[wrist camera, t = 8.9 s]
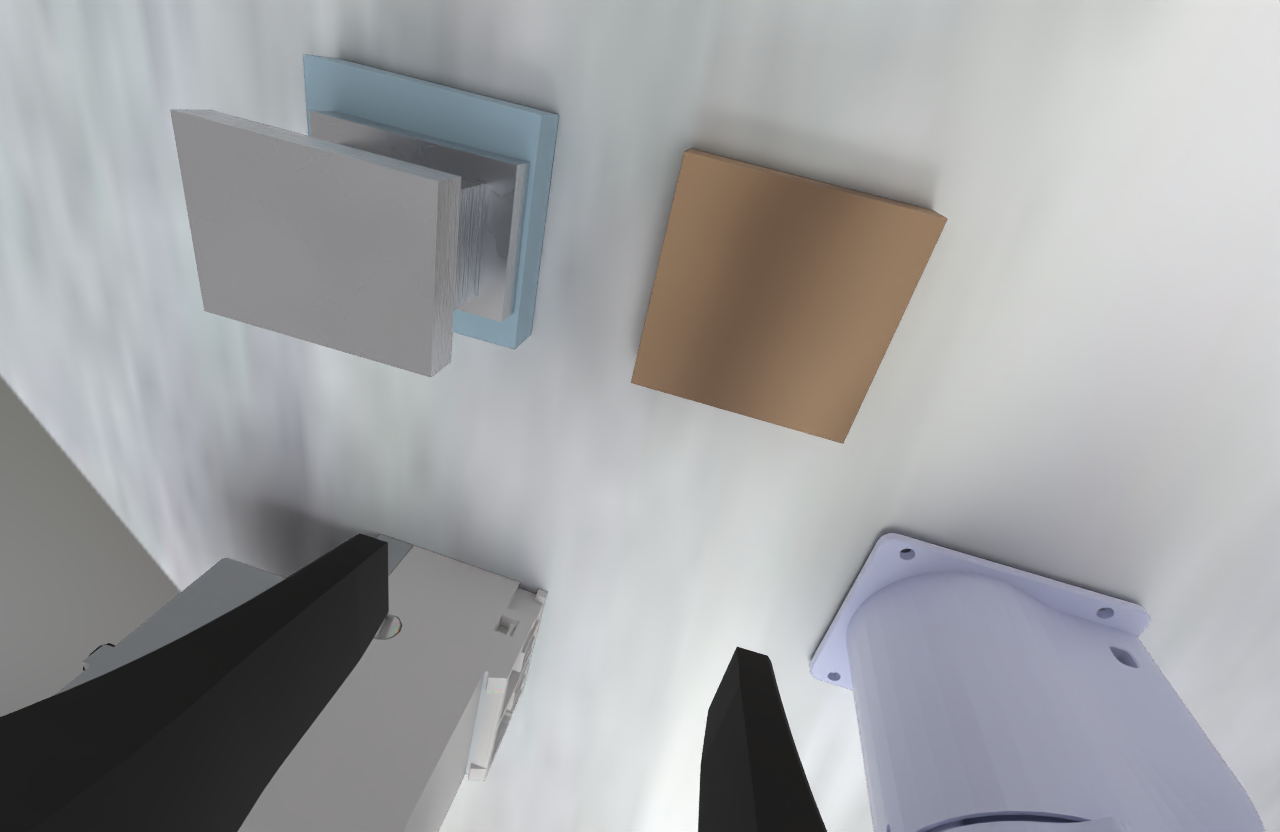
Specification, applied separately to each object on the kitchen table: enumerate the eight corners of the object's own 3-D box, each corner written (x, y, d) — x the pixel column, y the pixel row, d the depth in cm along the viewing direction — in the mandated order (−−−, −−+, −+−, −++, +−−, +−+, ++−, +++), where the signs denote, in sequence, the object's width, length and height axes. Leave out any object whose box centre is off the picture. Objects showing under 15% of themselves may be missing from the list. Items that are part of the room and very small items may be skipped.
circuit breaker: (258, 491, 27) (-228, 849, 14) (547, 591, 26) (325, 1070, 13) (268, 600, 30) (-106, 964, 17) (522, 691, 30) (330, 1141, 17)
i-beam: (333, 110, 17) (170, 109, 12) (530, 162, 16) (438, 181, 12) (340, 263, 19) (204, 311, 14) (514, 312, 18) (430, 377, 14)
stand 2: (933, 210, 16) (947, 218, 15) (838, 421, 20) (843, 443, 18) (691, 148, 17) (684, 151, 15) (639, 365, 20) (631, 382, 19)
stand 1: (559, 115, 17) (541, 115, 16) (530, 334, 20) (514, 349, 19) (338, 58, 17) (303, 53, 16) (347, 282, 21) (318, 293, 19)
